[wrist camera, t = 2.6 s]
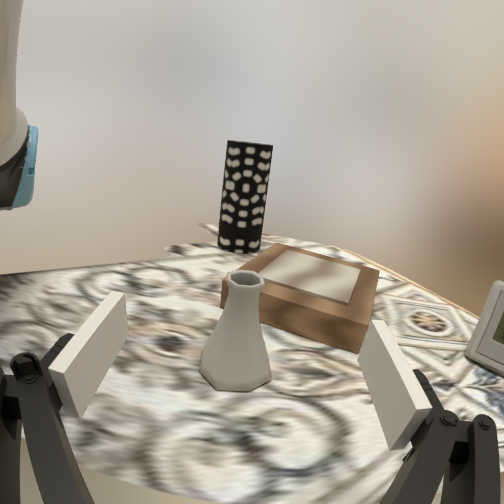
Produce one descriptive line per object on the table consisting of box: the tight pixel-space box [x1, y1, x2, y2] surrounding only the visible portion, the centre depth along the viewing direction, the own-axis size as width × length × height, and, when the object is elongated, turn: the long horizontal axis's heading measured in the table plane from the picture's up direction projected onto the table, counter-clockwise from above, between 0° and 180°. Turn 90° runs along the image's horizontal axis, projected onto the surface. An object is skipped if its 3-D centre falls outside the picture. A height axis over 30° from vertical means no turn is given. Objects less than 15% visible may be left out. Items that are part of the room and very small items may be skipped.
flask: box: [199, 270, 272, 391], centre depth 28 cm, size 7×7×10 cm
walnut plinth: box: [220, 243, 380, 354], centre depth 43 cm, size 18×18×4 cm
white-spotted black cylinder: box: [218, 140, 273, 253], centre depth 58 cm, size 8×8×20 cm
